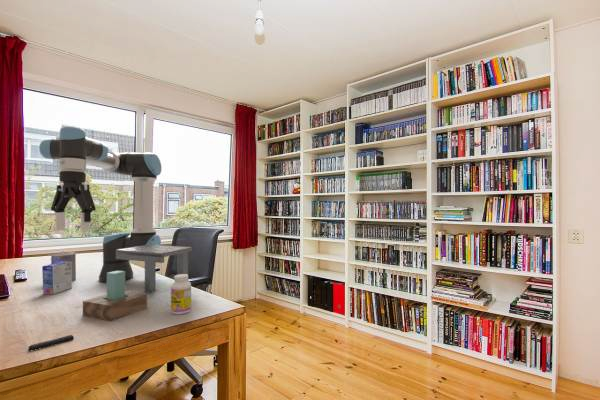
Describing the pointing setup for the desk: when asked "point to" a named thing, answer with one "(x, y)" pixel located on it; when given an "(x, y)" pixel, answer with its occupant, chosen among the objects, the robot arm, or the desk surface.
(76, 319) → the desk surface
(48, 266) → the ink cartridge box
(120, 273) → the peg
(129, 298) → the socket block
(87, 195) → the robot arm
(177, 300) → the supplement bottle
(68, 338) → the usb stick
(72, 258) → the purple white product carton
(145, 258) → the grey step stool
